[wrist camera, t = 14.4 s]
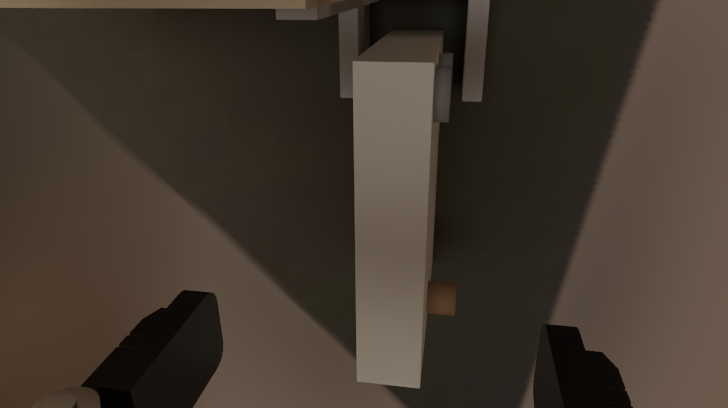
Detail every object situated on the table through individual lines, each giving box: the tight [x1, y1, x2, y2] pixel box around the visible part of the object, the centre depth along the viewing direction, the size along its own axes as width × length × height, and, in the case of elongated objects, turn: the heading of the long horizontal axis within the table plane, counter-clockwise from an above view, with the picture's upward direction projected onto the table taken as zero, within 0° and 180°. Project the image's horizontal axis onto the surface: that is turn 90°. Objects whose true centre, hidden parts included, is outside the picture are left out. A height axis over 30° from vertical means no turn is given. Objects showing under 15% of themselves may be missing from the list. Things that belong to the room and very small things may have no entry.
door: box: [353, 30, 456, 388], centre depth 22 cm, size 12×4×10 cm, turn 1°
